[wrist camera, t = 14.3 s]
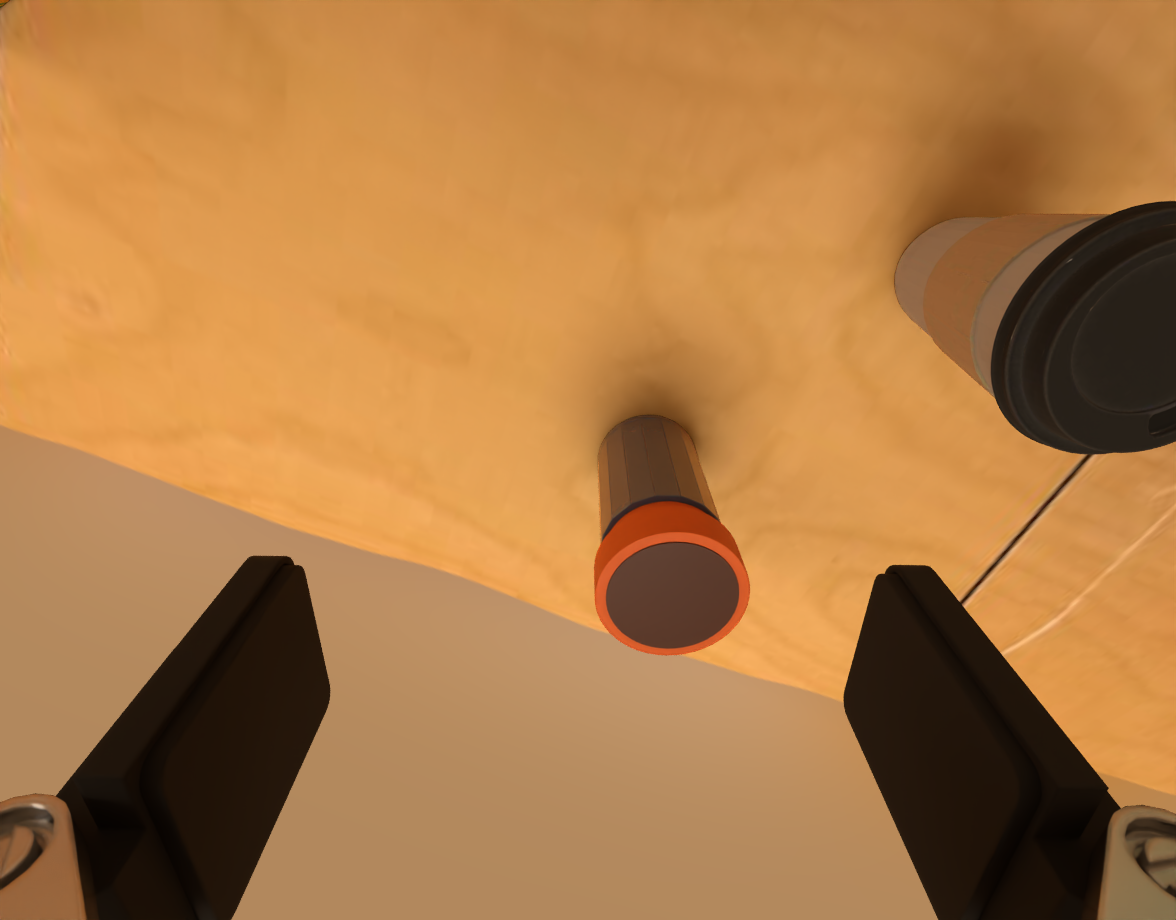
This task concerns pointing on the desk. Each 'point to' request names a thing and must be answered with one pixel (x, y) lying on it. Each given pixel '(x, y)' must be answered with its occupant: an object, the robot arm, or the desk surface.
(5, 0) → the crayon box
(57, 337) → the desk surface
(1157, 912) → the robot arm
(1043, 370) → the coffee cup
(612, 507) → the tumbler
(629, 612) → the funnel
